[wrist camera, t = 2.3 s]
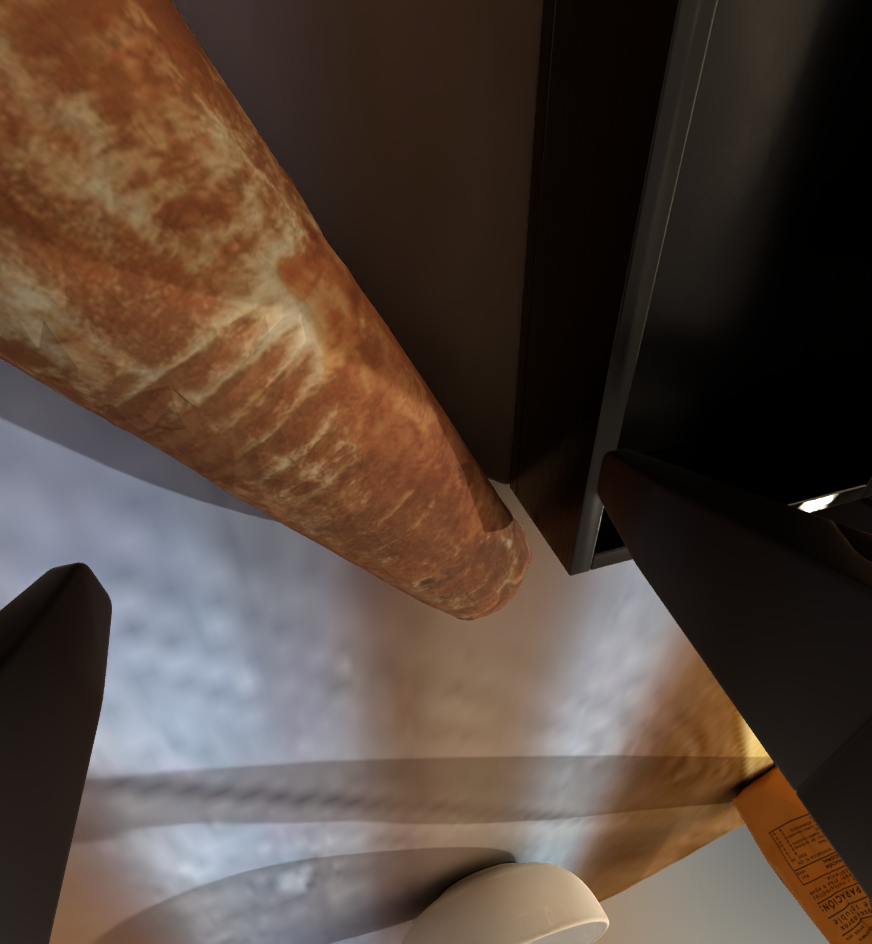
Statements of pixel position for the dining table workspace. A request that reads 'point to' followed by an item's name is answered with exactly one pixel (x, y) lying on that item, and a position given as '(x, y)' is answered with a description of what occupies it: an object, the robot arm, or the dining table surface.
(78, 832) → the dining table surface
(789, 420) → the bread tray
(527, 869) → the serving bowl
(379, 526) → the bread
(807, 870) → the coffee package
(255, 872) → the dining table surface
